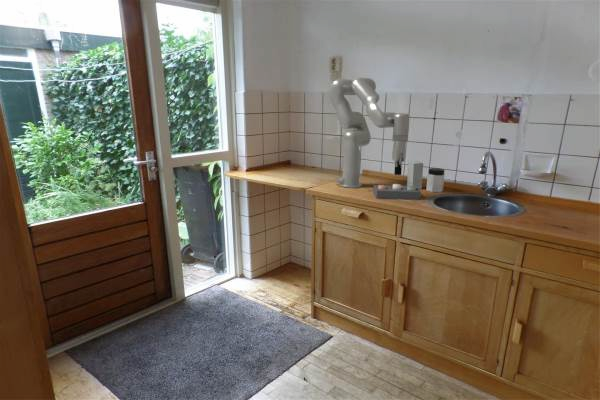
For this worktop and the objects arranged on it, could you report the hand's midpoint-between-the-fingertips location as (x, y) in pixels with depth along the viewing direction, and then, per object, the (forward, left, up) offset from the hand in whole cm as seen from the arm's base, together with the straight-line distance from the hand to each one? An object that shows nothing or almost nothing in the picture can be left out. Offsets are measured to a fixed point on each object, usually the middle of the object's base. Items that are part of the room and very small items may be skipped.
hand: (397, 174), depth 201 cm
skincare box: (+14, +21, -12) cm, 28 cm away
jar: (+24, +15, -12) cm, 31 cm away
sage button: (+8, 0, -10) cm, 12 cm away
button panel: (0, 0, -12) cm, 12 cm away
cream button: (0, 0, -9) cm, 9 cm away
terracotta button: (-7, 0, -10) cm, 12 cm away
